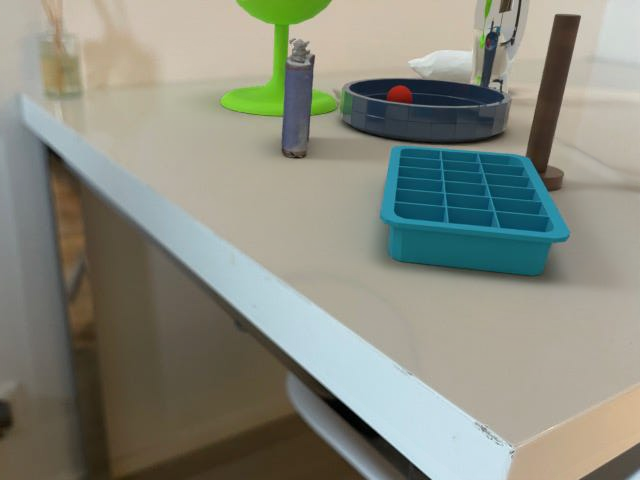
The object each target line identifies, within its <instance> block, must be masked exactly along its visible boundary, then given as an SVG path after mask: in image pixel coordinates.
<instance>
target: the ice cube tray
mask: <svg viewBox="0 0 640 480" xmlns="http://www.w3.org/2000/svg"><path fill="white" fill-rule="evenodd" d="M525 156H526V155H525ZM525 156H524V155H521V154H516V153H506V152H494V151H479V150H468V149H453V148H444V147H443V148H441V147H427V146H415V145H395V146H391V148H390V153H389V160H388V166H387V170H386V171H387V172H386V177H385V184H384V189H383V196H382V202H381V209H380V215H379V220H381V222H383V223H384V224H385V225H389V226H390V227H389V238H388V252H387V253H388V254H389V255H390V257H391V258H392V259H394V260H397V261H399V262H406V263H412V264H413V263H414V264H421V265H422V264H423V265H431V266H441V267H451V268H458V269H466V270H477V271H484V272H485V271H487V272H493V273H494V272H495V273H504V274H513V275H523V276H530V277H531V276H532V277H535V276H538V275H542V274H543V272H544V269H545V266H546V263H547V259H548V256H549V254H550V250H551V248H552V244H558V243H565V242H567V241H568V240H569V238H570V236H571V230H570V229H569V227H568V225H567V224H566V221H565V219H564V218H563V216H562V215H561V212H560V211H559V209H558V207H557V205H556V203H555V202H554V200H553V198H552V197H551V194H550V193H549V191H547V189H546V187H545V185H544V183H543V182H542V180H541V178H540V176H539V174H538V173H537V171H536V169H535V167H534V165H533V164H532V162H531V160H530V158H527V157H525Z"/></svg>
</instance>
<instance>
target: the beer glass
mask: <svg viewBox="0 0 640 480" xmlns="http://www.w3.org/2000/svg"><path fill="white" fill-rule="evenodd" d="M530 1H531V0H476V5H475V8H474V13H473V18H472V26H471V52H472V68H471V76H470V81H469V83H471V84H477V85H482V86H487V87H491V88H494V89H497V90H501V91H503V92H505V93H507V94H509V85H510V84H509V83H510V77H511V73H512V70H513V66H514V64H515V62H516V58H517V55H518V53H519V50H520V48H521V44H522V41H523V38H524V35H525V31H526V28H527V22H528V18H529V17H528V15H529V10H530V3H531V2H530Z"/></svg>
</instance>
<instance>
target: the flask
mask: <svg viewBox="0 0 640 480" xmlns="http://www.w3.org/2000/svg"><path fill="white" fill-rule="evenodd" d="M288 44H289V45H293V48H292V49H291V55H288V58H287V59H286V63H285V82H284V105H283V116H282V126H281V127H282V128H281V152H282V154H283V156H286V157H289V158H295V157H299V158H301V159H302V158H303V157H304V156H307V154H308V153H307V151H308V142H309V140H310V134H311V133H310V132H311V131H310V130H311V129H310V127H311V116H312V115H311V103H312V89H313V86H314V70H315V60H316V54H315V53H311V49H306V48H307V47H308V45H309V44H310V40H307V41H304V40H303V39H302V38H298V39H297V38H295V37H293V38H291V39H289V40H288Z"/></svg>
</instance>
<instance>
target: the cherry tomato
mask: <svg viewBox="0 0 640 480" xmlns="http://www.w3.org/2000/svg"><path fill="white" fill-rule="evenodd" d="M387 101H389V102H397V103H405V104H411V102H412V94H411V92H410V90H409V89H408V88H407V87H404V86H396V87H394V88H392V89H391V90H390V91H389V92H388V94H387Z"/></svg>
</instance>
